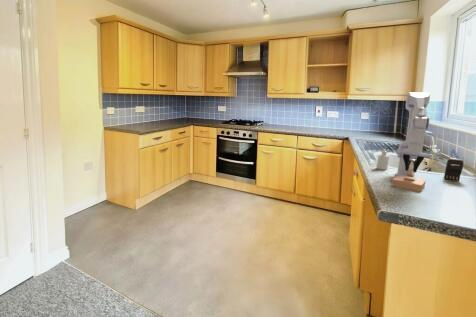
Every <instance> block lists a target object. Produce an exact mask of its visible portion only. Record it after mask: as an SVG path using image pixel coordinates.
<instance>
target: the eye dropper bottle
mask: <svg viewBox="0 0 476 317" xmlns="http://www.w3.org/2000/svg"><path fill="white" fill-rule="evenodd" d="M387 152H388V151H387V150H386V148H383V150H382V151H381V154H379V155H378V156H377V161H376V166H375V167H376V169H378V170H388V166H389V160H390V157H389V155H387V154H388V153H387Z"/></svg>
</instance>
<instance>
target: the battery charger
mask: <svg viewBox="0 0 476 317" xmlns="http://www.w3.org/2000/svg"><path fill="white" fill-rule="evenodd" d="M464 163H465V162H464V160H463V159H461V158H454V157H449V158H448V159H447V160H446V164H445V169H444V175H443V179H444V180H448V181H452V182H453V181H454V182H459V181H460V179H461V174H462V172H463V168H464Z"/></svg>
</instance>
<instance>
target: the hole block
mask: <svg viewBox="0 0 476 317" xmlns="http://www.w3.org/2000/svg"><path fill="white" fill-rule="evenodd" d="M425 185H426V179H422V178H419V177H415V176H414V177H408V176H403V175H395V176H394V178H392V180H391V186H393V187H397V188H401V189H407V190H410V191H411V190H412V191H415V192H422V191H423V189H424V187H425Z"/></svg>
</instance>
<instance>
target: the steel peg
mask: <svg viewBox="0 0 476 317" xmlns="http://www.w3.org/2000/svg"><path fill="white" fill-rule="evenodd" d="M415 166H416V160H414V159H409V164H408V169H407V175H406V176H408V177H414V178H415V175H414V174H415V172H414V170H415Z"/></svg>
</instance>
